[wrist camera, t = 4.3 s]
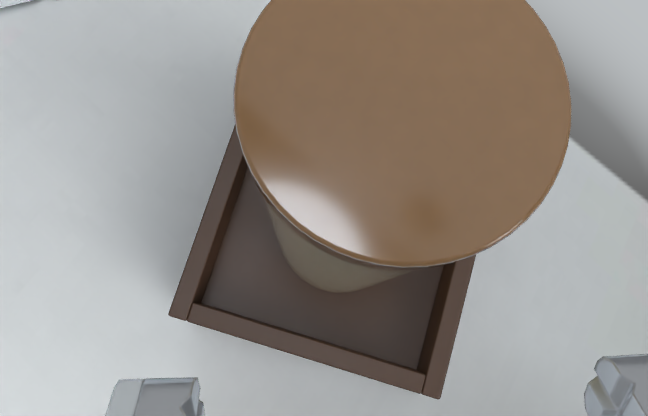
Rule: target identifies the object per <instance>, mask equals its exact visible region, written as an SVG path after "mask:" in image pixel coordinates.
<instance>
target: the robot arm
mask: <svg viewBox="0 0 648 416" xmlns="http://www.w3.org/2000/svg"><path fill="white" fill-rule="evenodd" d="M594 369H595V371H596V373H597V375H598V376H597V377H595V378H594V379H593V380H591V381H590V382H589V383H588V385H587V387H586V390H585V393H584V399H585V409H586V412H587V416H648V354H637V355H621V356H605V357H602V358H600V359H599V360H598V361H597V363H596V365H595V368H594ZM199 394H200V385H199V381H198V378H196V377H195V378H150V379H123V380H119V381H118V382H117V384H116V385H115V387H114V389H113V392H112V395H111V399H110V402H109V405H108V408H107V411H106V415H105V416H205V410H204V404H203V402H202V401H200V400H199Z"/></svg>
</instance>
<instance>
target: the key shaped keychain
mask: <svg viewBox="0 0 648 416" xmlns="http://www.w3.org/2000/svg"><path fill="white" fill-rule="evenodd" d="M28 1H32V0H0V8H3V7H7V6H11V5H15V4H19V3H24V2H28Z"/></svg>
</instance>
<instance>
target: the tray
mask: <svg viewBox="0 0 648 416" xmlns="http://www.w3.org/2000/svg"><path fill="white" fill-rule="evenodd" d="M475 257H476V254H475V255H473V256H471V257H468V258H465V259H462V260H459V261H455V262H452V263H449V264H446V265H442V266H439V267H434V268H428V269H422V270H415V271H412V272H409V273H406V274H404V275H401V276H398V277H395V278H393V279H390V280H387V281H384V282H382V283H379V284H376V285H373V286H371V287H368V288H365V289H362V290H359V291H356V292H350V293H332V292H327V291H323V290H320V289H317V288H315V287H313V286H311V285H309V284H307V283H306V282H304V281H303V280H302V279H300V278H299V277H298V276H297V275H296V274H295V273H294V272H293V271H292V269H291V268H290V267H289V266H288V264H287V262H286V261H285V259H284V257H283V254H282V252H281V249H280V246H279V243H278V240H277V237H276V234H275V231H274V228H273V225H272V222H271V219H270V216H269V213H268V210H267V207H266V204H265V201H264V198H263V196H262V194H261V192H260V191H259V189H258V188H257V186H256V184H255V182H254V180H253V177H252V175H251V173H250V171H249V168H248V166H247V163H246V161H245V158H244V155H243V152H242V149H241V145H240V142H239V138H238V135H237V131H236V124H235V126H234V129H233V132H232V135H231V138H230V141H229V143H228V146H227V149H226V152H225V155H224V158H223V160H222V163H221V166H220V169H219V172H218V175H217V177H216V180H215V183H214V186H213V189H212V192H211V194H210V197H209V200H208V203H207V206H206V209H205V211H204V214H203V217H202V220H201V223H200V226H199V228H198V231H197V234H196V237H195V240H194V243H193V245H192V248H191V251H190V254H189V257H188V260H187V262H186V265H185V268H184V271H183V274H182V277H181V279H180V282H179V285H178V288H177V291H176V294H175V296H174V299H173V302H172V305H171V308H170V311H169V313H168V314H169V316H171V317H175V318H178V319H181V320H184V321H186V320H187V321H188V322H191V323H194V324H197V325H200V326H203V327H207V328H210V329H213V330H216V331H220V332H223V333H226V334H229V335H232V336H236V337H239V338H242V339H245V340H249V341H252V342H255V343H258V344H261V345H265V346H268V347H271V348H274V349H277V350H281V351H284V352H287V353H290V354H294V355H297V356H300V357H303V358H306V359H310V360H313V361H316V362H319V363H323V364H326V365H329V366H332V367H335V368H339V369H342V370H345V371H348V372H352V373H355V374H358V375H361V376H364V377H368V378H371V379H374V380H377V381H381V382H384V383H387V384H390V385H393V386H397V387H400V388H403V389H406V390H409V391H413V392H416V393H419V394H420V393H421V394H423V395H426V396H429V397H432V398H435V399H440V397H441V393H442V389H443V385H444V381H445V377H446V373H447V369H448V365H449V361H450V357H451V353H452V349H453V345H454V341H455V337H456V333H457V329H458V325H459V321H460V317H461V313H462V309H463V305H464V301H465V297H466V293H467V289H468V285H469V281H470V277H471V273H472V269H473V265H474V261H475Z"/></svg>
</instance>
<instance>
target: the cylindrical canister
mask: <svg viewBox="0 0 648 416" xmlns="http://www.w3.org/2000/svg"><path fill="white" fill-rule="evenodd" d="M234 117H235V124H236V131H237V135H238V138H239V142H240V145H241V149H242V152H243V155H244V158H245V161H246V163H247V166H248V168H249V171H250V173H251V175H252V177H253V180H254V182H255V184H256V186H257V188H258V189H259V191H260V192H261V194H262V196H263V198H264V201H265V204H266V207H267V210H268V213H269V216H270V219H271V222H272V225H273V228H274V231H275V234H276V237H277V240H278V243H279V246H280V249H281V252H282V254H283V257H284V259H285V261H286V262H287V264H288V266H289V267H290V268H291V269H292V271H293V272H294V273H295V274H296V275H297V276H298V277H299V278H300V279H302V280H303V281H304V282H306V283H307V284H309V285H311V286H313V287H315V288H317V289H320V290H323V291H327V292H332V293H350V292H356V291H359V290H362V289H365V288H368V287H371V286H373V285H376V284H379V283H382V282H384V281H387V280H390V279H393V278H395V277H398V276H401V275H404V274H406V273H409V272H412V271H415V270H422V269H428V268H434V267H439V266H442V265H446V264H449V263H452V262H455V261H459V260H462V259H465V258H468V257H471V256H473V255H475V254H477V253H480V252H482V251H484V250H486V249H488V248H490V247H492V246H494V245H495V244H497V243H498V242H500V241H501V240H503V239H505V238H506V237H508V236H509V235H511V234H512V233H513V232H514V231H515V230H516V229H518V228H519V227H520V226H521V225H522V224H523V223H524V222H526V221H527V220H528V219H529V217H530V216H531V215H532V214H533V213H534V212H535V210H536V209H537V208H538V207H539V206H540V205H541V203H542V202H543V200H544V199H545V197H546V196H547V194H548V193H549V191H550V189H551V188H552V186H553V184H554V182H555V180H556V178H557V176H558V173H559V171H560V169H561V167H562V163H563V160H564V157H565V153H566V150H567V147H568V141H569V134H570V127H571V98H570V90H569V83H568V79H567V75H566V71H565V67H564V63H563V61H562V58H561V56H560V53H559V51H558V49H557V46H556V44H555V42H554V40H553V38H552V37H551V35H550V33H549V31H548V29H547V27H546V26H545V24H544V23H543V22H542V20H541V19H540V18H539V16H538V15H537V14H536V12H535V11H534V9H533V8H532V7H531V6H530V5H529V4H528V3H527V2H526V1H525V0H271V1H270V2H269V3H268V5H267V6H266V7H265V8H264V10H263V11H262V12H261V14H260V15H259V17H258V18H257V20H256V22H255V23H254V25H253V27H252V28H251V30H250V32H249V34H248V37H247V39H246V41H245V43H244V46H243V48H242V51H241V55H240V58H239V62H238V65H237V69H236V76H235V83H234Z"/></svg>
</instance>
